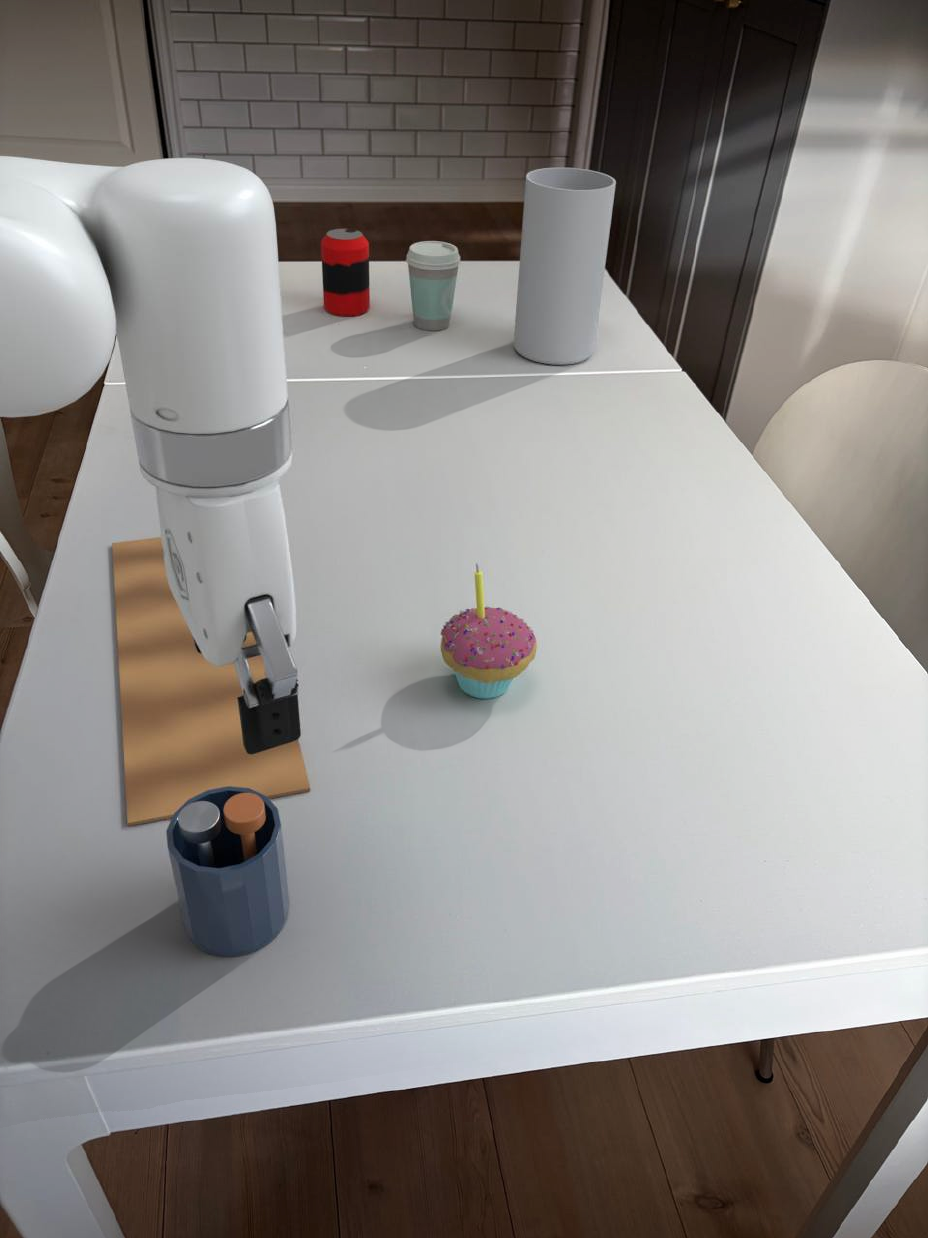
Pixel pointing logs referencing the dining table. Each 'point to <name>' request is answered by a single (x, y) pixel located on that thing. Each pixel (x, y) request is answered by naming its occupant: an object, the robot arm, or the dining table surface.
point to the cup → (231, 882)
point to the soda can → (345, 272)
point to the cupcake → (486, 647)
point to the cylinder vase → (562, 263)
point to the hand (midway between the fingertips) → (245, 692)
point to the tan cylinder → (245, 819)
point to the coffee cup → (432, 283)
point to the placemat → (181, 701)
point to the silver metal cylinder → (201, 828)
